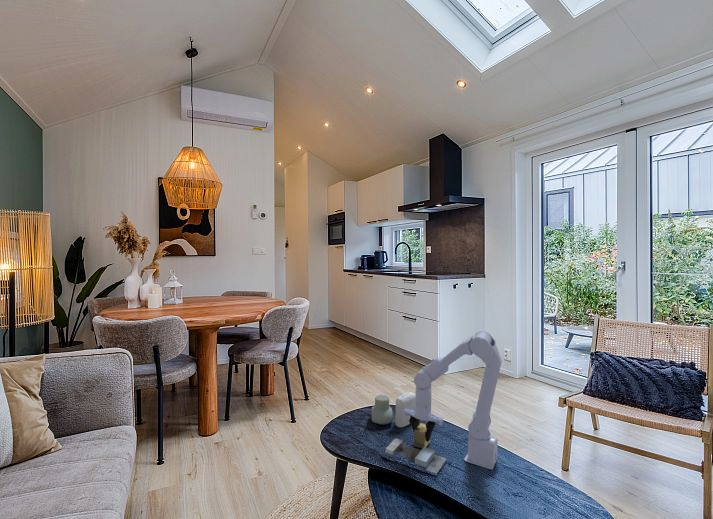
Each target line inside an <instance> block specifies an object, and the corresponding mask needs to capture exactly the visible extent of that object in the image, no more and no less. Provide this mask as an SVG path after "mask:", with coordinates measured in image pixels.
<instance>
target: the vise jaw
mask: <svg viewBox="0 0 713 519" xmlns="http://www.w3.org/2000/svg"><path fill="white" fill-rule="evenodd" d="M420 450H421V451H420V452H419V454H418V455H417V456H416V457H415V464H417V465H419V466H422V467H425V468H426V467H427V466H428V464H429V463H430V462H431V460H432V459H433V458H434V456H435V455H436V454H435V453H436V450H434V449H431V448H428V447H427V446H426V447H423V448H421V449H420Z"/></svg>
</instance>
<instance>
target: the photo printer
mask: <svg viewBox="0 0 713 519" xmlns="http://www.w3.org/2000/svg"><path fill="white" fill-rule="evenodd" d="M415 396H416V392H411V391H409V392H405V393H403V394H401V395H400V396H398V397H397V398H396V400H395V411H394V412H395V418H394V420H395V422H394V423H395V426H396V427H397V428H404V427H406V426H408V425H411V424H410V422H409V419H410V416H404V410H405V409H411V410H415Z"/></svg>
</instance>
